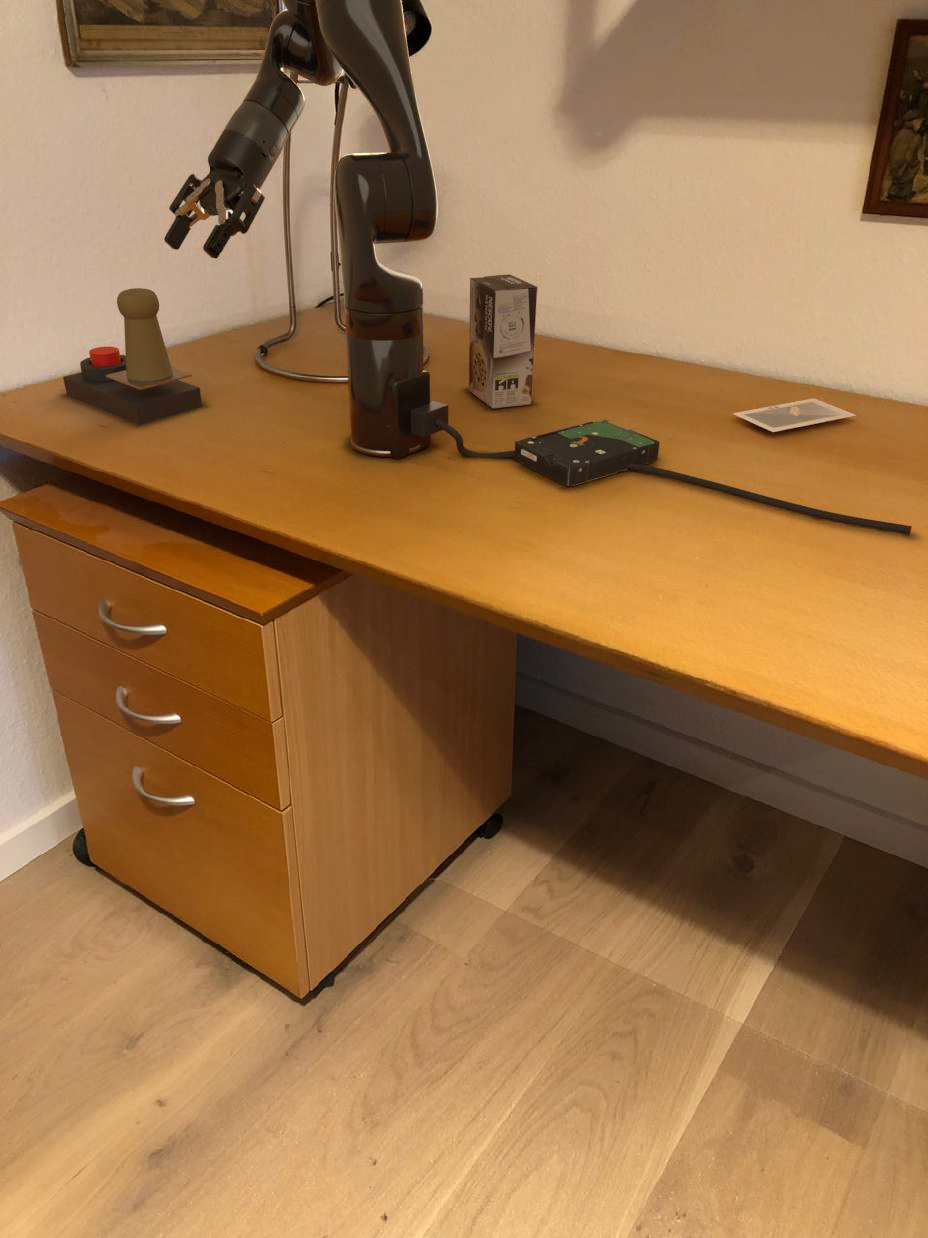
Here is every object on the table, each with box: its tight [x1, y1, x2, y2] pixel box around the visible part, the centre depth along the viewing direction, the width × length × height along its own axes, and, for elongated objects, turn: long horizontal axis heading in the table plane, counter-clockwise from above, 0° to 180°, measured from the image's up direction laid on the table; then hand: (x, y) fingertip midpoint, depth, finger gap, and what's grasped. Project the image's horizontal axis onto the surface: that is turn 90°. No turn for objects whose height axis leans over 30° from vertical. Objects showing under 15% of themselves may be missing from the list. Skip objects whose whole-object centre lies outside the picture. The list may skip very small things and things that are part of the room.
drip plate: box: [106, 366, 193, 390], centre depth 127 cm, size 8×8×1 cm
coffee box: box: [468, 274, 538, 409], centre depth 132 cm, size 9×6×16 cm
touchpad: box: [731, 397, 857, 433], centre depth 128 cm, size 8×15×2 cm, turn 117°
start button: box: [88, 346, 121, 366], centre depth 133 cm, size 4×4×2 cm
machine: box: [62, 354, 203, 426], centre depth 131 cm, size 18×10×4 cm, turn 50°
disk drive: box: [513, 419, 661, 487], centre depth 115 cm, size 10×3×15 cm
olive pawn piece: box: [116, 287, 173, 381], centre depth 124 cm, size 6×6×11 cm
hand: (189, 249), depth 125 cm, fingers open, 8 cm apart
